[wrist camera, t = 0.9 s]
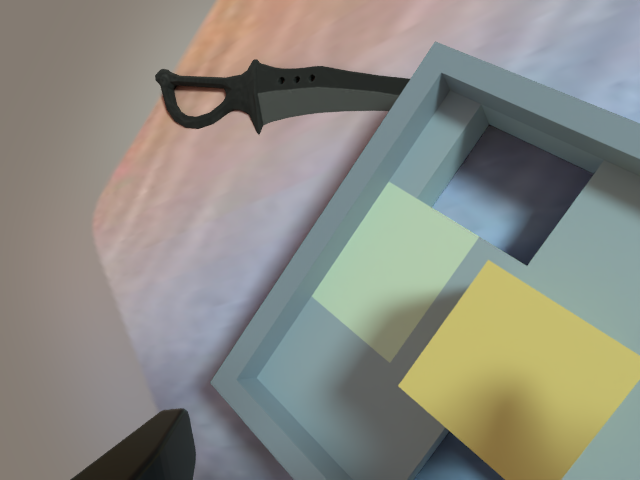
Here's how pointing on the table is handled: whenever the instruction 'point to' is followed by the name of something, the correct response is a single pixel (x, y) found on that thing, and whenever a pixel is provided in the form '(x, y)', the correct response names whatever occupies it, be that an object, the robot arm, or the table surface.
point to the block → (520, 377)
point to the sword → (285, 93)
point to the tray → (433, 278)
